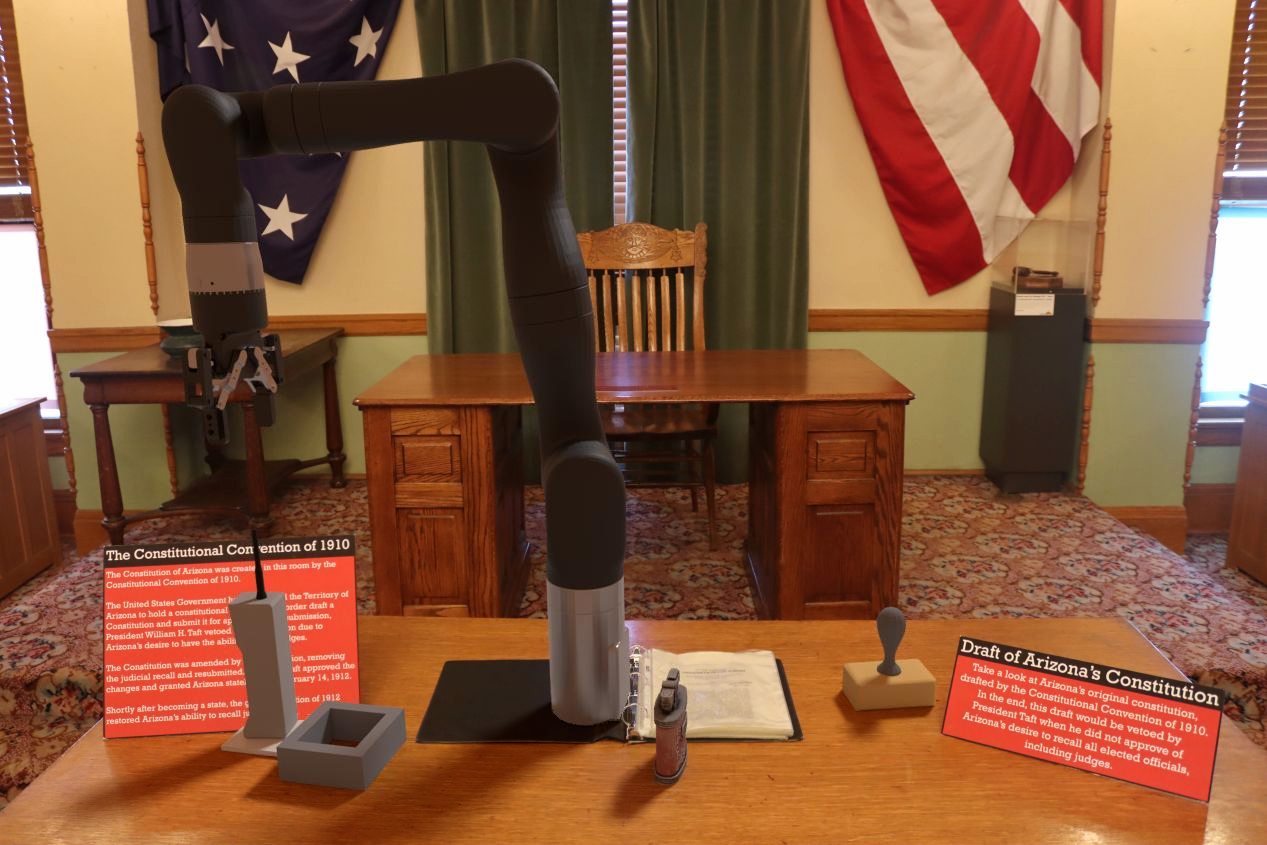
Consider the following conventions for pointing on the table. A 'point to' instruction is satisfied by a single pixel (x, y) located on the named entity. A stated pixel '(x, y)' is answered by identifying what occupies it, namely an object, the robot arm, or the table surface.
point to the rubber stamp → (889, 673)
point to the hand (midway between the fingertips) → (243, 434)
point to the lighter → (671, 730)
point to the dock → (339, 765)
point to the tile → (254, 743)
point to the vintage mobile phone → (265, 657)
